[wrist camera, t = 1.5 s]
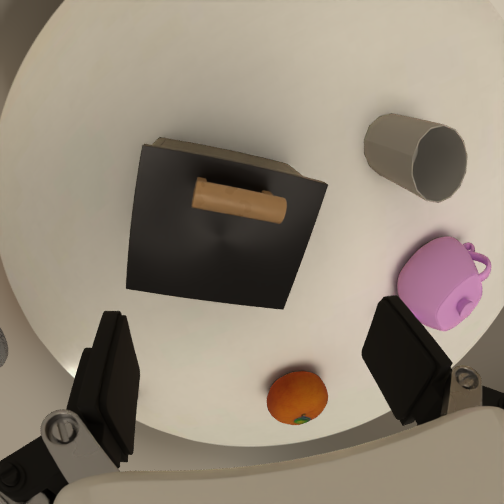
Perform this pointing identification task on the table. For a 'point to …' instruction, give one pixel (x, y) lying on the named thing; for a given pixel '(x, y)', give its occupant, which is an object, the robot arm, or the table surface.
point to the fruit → (297, 398)
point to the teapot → (442, 282)
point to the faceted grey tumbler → (417, 155)
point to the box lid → (218, 228)
